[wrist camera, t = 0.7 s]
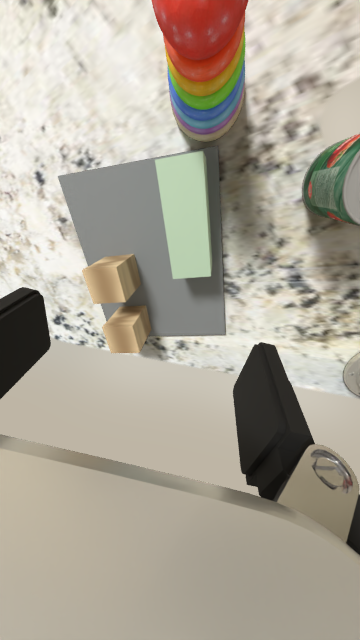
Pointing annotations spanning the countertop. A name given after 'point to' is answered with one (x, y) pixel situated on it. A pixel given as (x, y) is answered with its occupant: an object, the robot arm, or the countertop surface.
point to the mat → (148, 242)
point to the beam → (186, 213)
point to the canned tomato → (335, 182)
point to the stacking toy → (204, 63)
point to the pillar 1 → (112, 279)
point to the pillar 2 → (127, 329)
